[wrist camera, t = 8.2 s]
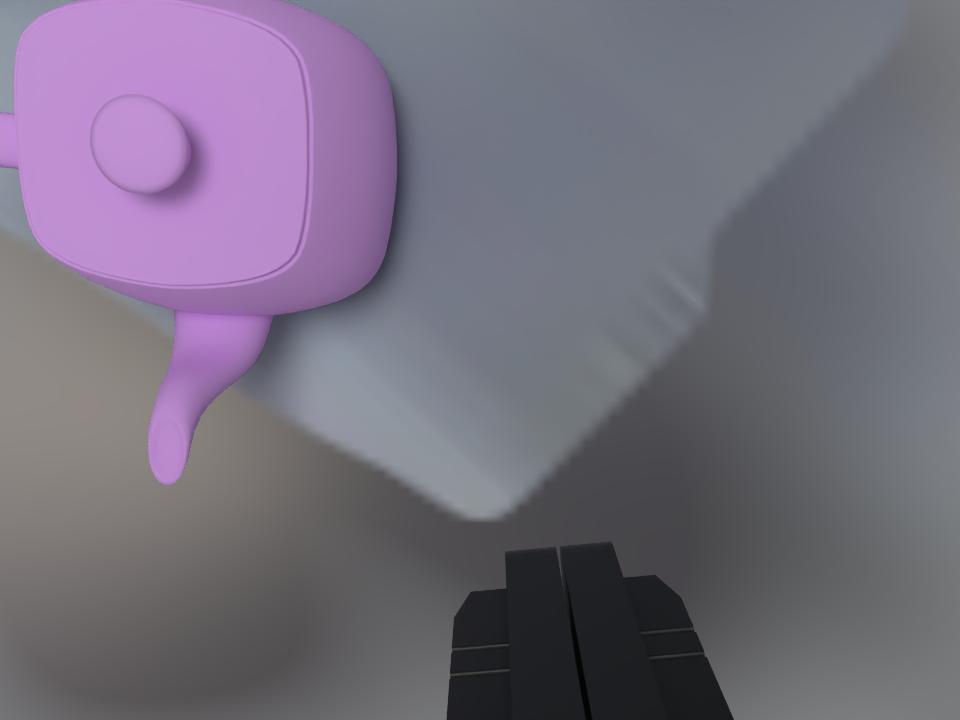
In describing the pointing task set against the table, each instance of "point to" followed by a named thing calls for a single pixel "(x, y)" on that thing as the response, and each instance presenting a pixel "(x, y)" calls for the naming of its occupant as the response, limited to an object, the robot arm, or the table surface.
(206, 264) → the teapot
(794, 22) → the table surface
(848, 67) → the table surface
